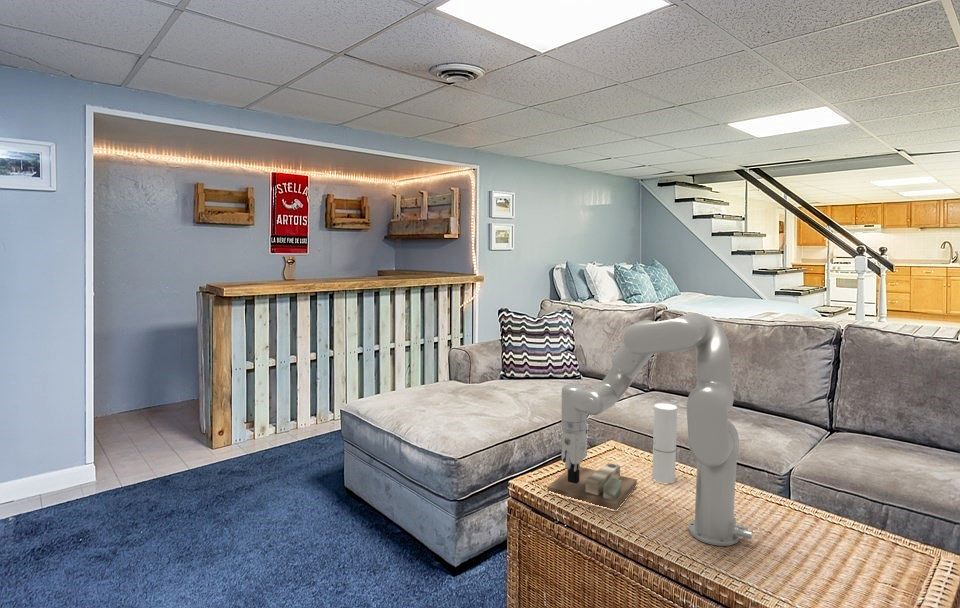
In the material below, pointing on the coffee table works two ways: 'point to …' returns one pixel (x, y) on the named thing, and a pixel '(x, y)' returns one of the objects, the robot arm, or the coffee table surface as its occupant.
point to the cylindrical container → (664, 442)
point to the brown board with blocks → (608, 498)
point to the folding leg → (602, 478)
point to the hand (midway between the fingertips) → (573, 481)
